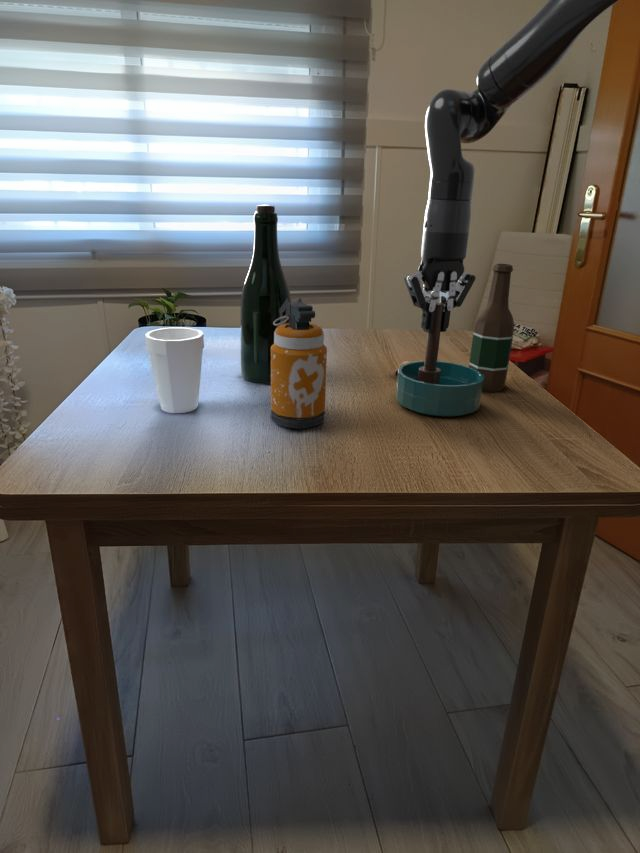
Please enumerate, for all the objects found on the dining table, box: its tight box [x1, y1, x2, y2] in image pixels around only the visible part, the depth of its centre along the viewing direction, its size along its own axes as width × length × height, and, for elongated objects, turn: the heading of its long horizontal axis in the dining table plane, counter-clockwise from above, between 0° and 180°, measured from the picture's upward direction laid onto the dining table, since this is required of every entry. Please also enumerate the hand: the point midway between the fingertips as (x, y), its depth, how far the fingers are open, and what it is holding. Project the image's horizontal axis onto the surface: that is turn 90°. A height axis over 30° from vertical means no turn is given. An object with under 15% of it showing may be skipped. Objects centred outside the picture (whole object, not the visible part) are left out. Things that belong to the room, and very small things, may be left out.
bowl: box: [395, 360, 484, 418], centre depth 105 cm, size 15×15×6 cm
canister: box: [270, 297, 328, 429], centre depth 93 cm, size 9×11×20 cm
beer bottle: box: [468, 263, 515, 393], centre depth 112 cm, size 8×8×24 cm
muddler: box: [418, 301, 444, 385], centre depth 103 cm, size 4×4×16 cm
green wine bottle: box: [240, 204, 292, 384], centre depth 111 cm, size 10×10×33 cm
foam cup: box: [144, 327, 205, 414], centre depth 98 cm, size 10×9×13 cm
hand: (434, 330), depth 102 cm, fingers closed on muddler, 2 cm apart
